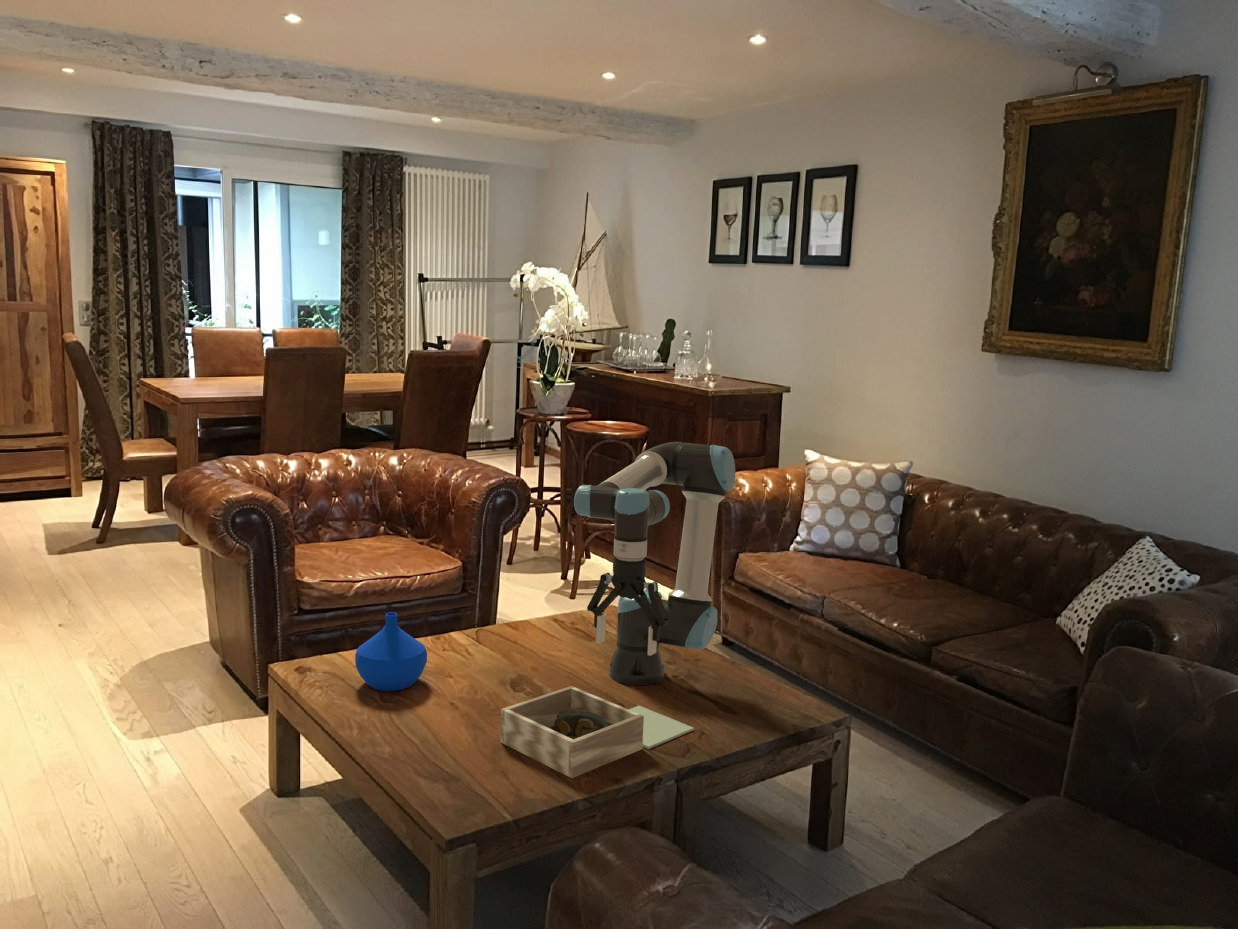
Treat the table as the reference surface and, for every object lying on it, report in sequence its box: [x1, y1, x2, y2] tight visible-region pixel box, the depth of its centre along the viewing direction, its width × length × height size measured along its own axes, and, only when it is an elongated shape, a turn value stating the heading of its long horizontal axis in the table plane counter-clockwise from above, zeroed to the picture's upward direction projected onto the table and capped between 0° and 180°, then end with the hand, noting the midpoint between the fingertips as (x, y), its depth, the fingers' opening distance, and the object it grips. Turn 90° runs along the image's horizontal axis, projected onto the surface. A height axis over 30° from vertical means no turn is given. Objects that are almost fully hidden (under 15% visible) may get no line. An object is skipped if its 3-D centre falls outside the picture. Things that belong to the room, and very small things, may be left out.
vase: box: [354, 611, 428, 692], centre depth 265 cm, size 18×18×19 cm
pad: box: [629, 705, 695, 750], centre depth 245 cm, size 18×16×1 cm
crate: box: [500, 685, 644, 779], centre depth 233 cm, size 24×22×8 cm
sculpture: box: [554, 710, 613, 740], centre depth 235 cm, size 13×6×7 cm, turn 83°
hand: (625, 648), depth 233 cm, fingers open, 13 cm apart
